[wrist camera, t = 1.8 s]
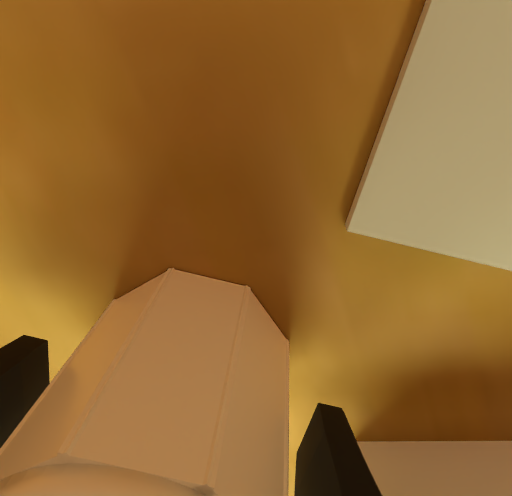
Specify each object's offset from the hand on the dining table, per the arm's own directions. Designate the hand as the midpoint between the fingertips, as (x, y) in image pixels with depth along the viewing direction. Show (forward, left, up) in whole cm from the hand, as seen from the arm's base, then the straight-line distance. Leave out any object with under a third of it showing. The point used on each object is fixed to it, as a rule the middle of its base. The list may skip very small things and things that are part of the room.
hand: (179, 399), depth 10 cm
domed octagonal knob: (0, 0, -2) cm, 2 cm away
